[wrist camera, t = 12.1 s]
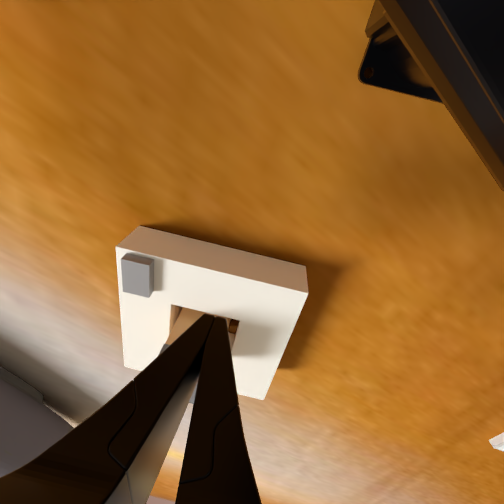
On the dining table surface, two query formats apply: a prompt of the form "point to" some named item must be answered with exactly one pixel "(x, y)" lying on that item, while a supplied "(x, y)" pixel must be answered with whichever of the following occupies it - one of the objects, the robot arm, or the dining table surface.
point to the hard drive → (498, 442)
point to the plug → (181, 325)
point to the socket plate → (208, 300)
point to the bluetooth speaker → (25, 423)
